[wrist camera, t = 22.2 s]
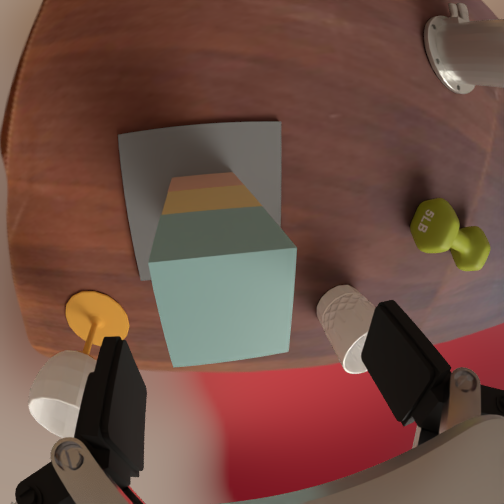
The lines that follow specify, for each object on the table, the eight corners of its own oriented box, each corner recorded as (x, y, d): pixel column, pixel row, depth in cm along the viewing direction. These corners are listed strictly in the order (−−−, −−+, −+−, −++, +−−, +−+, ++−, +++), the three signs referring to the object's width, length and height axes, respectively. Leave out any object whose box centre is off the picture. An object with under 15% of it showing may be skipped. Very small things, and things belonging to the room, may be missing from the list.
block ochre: (167, 192, 21) (161, 215, 16) (244, 184, 22) (262, 205, 17) (176, 260, 24) (175, 301, 19) (246, 253, 25) (262, 290, 20)
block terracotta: (171, 177, 27) (167, 191, 21) (232, 172, 28) (243, 184, 22) (178, 234, 29) (176, 260, 24) (235, 228, 30) (245, 252, 25)
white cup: (307, 328, 40) (335, 379, 31) (318, 282, 36) (354, 330, 28) (352, 322, 41) (385, 366, 33) (366, 278, 38) (407, 320, 29)
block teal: (160, 215, 16) (148, 262, 11) (262, 206, 17) (296, 247, 12) (173, 300, 19) (173, 367, 13) (261, 290, 20) (288, 351, 14)
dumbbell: (398, 236, 37) (431, 259, 30) (421, 186, 34) (458, 202, 28) (450, 262, 42) (477, 282, 36) (469, 223, 39) (498, 239, 33)
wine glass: (69, 338, 32) (40, 434, 18) (62, 284, 29) (12, 383, 15) (129, 349, 35) (119, 452, 21) (130, 296, 32) (107, 408, 18)
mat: (119, 134, 24) (117, 134, 23) (279, 121, 27) (281, 121, 26) (141, 278, 31) (141, 280, 30) (278, 262, 34) (279, 264, 33)
